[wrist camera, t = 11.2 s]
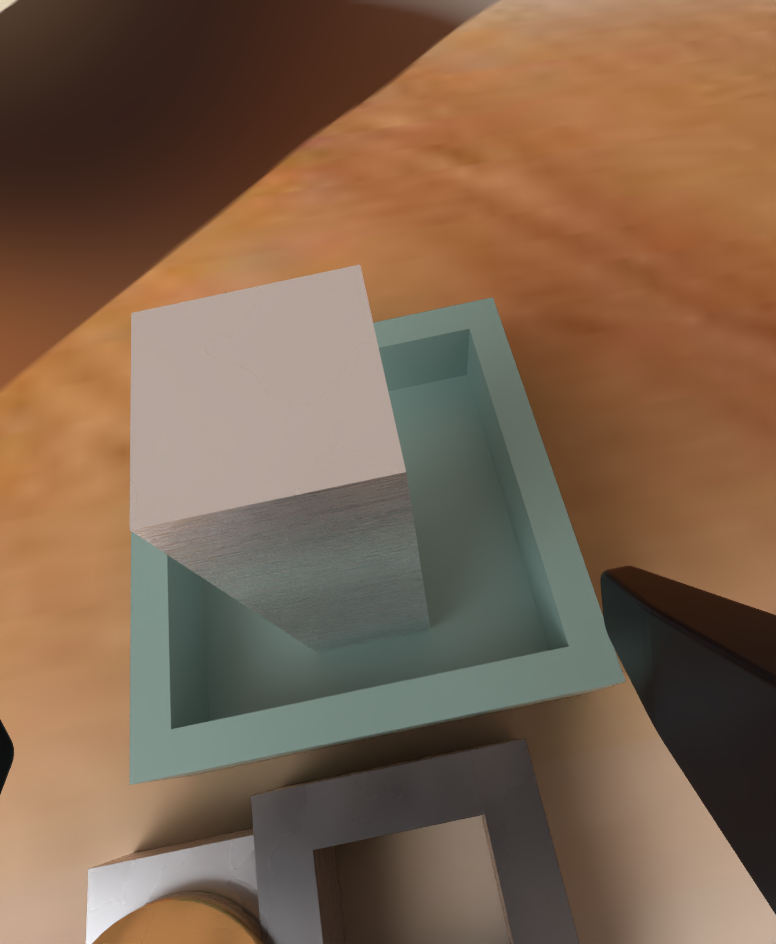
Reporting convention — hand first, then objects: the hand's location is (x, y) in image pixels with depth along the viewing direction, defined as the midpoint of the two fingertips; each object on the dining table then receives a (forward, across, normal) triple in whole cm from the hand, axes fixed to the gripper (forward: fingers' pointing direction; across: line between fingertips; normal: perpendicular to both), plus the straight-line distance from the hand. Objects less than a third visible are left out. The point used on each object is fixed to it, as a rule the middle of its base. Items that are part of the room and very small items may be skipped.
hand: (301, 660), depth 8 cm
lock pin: (+11, 0, +5) cm, 13 cm away
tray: (+13, 0, +5) cm, 14 cm away
